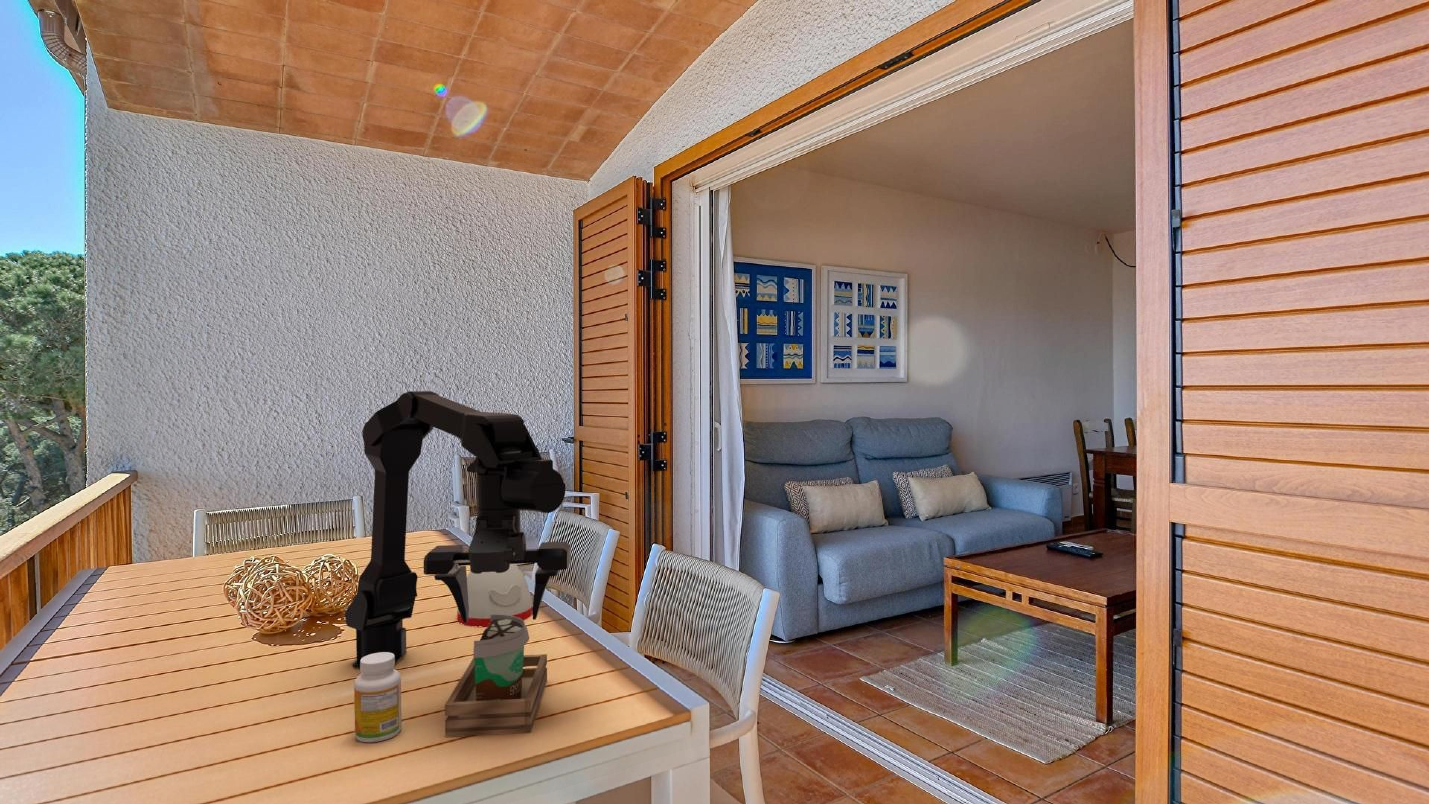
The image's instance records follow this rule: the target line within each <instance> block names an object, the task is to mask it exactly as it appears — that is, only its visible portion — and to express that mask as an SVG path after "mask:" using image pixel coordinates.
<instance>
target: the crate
mask: <svg viewBox="0 0 1429 804" xmlns="http://www.w3.org/2000/svg"><path fill="white" fill-rule="evenodd" d="M547 664H548V654H546V653H545V654H542V653H541V654H524V657H523V674H522V690H521V698H520V699H508V700H487V701H476V684H475V658H473V657H472V660H471V661H470V663H469V665H468V666H467V667H466V669H465V671H464V672H463V674H462V676H461V678H460V679H459V681H458V682H457V684H456V686H455V688H454V689H453V691H452V692H451V694H450V696H449V697H448V698H447V700H446V703H445V704H444V717H446V718H445V720H444V736H445V737H466V736H469V737H470V736H485V735H487V736H488V735H501V734H502V735H503V734H504V735H506V734H519V733H520V734H521V733H522V734H523V733H524V734H525V733H532V731H533V729H534V724H535V721H536V718H537V715H538V712H539V708H540V706H541V702H542V699H543V695H544V692H545V689H546V686H547V682H548V667H547ZM524 667H526V668H524ZM527 667H533V668H527ZM445 737H444V738H445Z"/></svg>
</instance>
